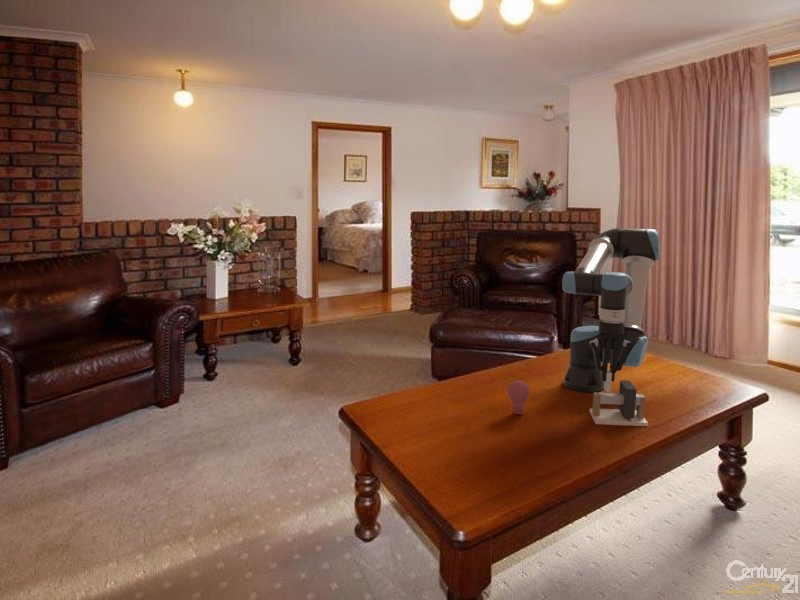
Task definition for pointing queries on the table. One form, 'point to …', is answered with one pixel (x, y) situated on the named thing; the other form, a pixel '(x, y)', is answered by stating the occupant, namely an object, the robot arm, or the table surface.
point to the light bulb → (518, 395)
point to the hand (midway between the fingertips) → (607, 390)
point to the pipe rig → (617, 410)
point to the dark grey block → (628, 399)
